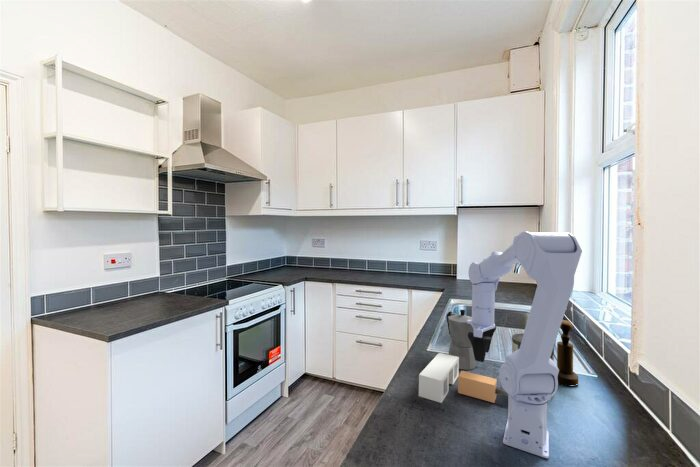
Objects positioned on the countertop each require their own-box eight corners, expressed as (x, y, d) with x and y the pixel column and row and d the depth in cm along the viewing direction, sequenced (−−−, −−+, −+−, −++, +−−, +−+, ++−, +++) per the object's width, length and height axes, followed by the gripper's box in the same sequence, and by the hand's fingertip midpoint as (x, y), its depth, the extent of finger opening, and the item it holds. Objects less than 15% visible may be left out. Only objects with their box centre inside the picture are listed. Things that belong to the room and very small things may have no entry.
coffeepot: (487, 371, 98) (488, 314, 98) (461, 374, 95) (462, 315, 95) (458, 352, 113) (459, 302, 113) (434, 355, 110) (435, 304, 110)
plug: (512, 408, 77) (512, 389, 77) (457, 392, 84) (458, 376, 84) (513, 400, 80) (513, 383, 80) (461, 386, 87) (461, 370, 87)
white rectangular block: (441, 403, 79) (442, 380, 79) (418, 396, 83) (419, 374, 83) (458, 375, 95) (459, 357, 94) (438, 370, 98) (439, 352, 98)
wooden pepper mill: (554, 374, 97) (555, 316, 96) (580, 381, 92) (581, 320, 92) (548, 381, 92) (550, 320, 92) (575, 389, 87) (577, 325, 87)
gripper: (473, 299, 94) (472, 344, 94) (461, 310, 82) (460, 361, 82) (498, 303, 90) (497, 350, 90) (491, 314, 78) (489, 368, 78)
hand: (482, 356), depth 86 cm, fingers open, 7 cm apart
